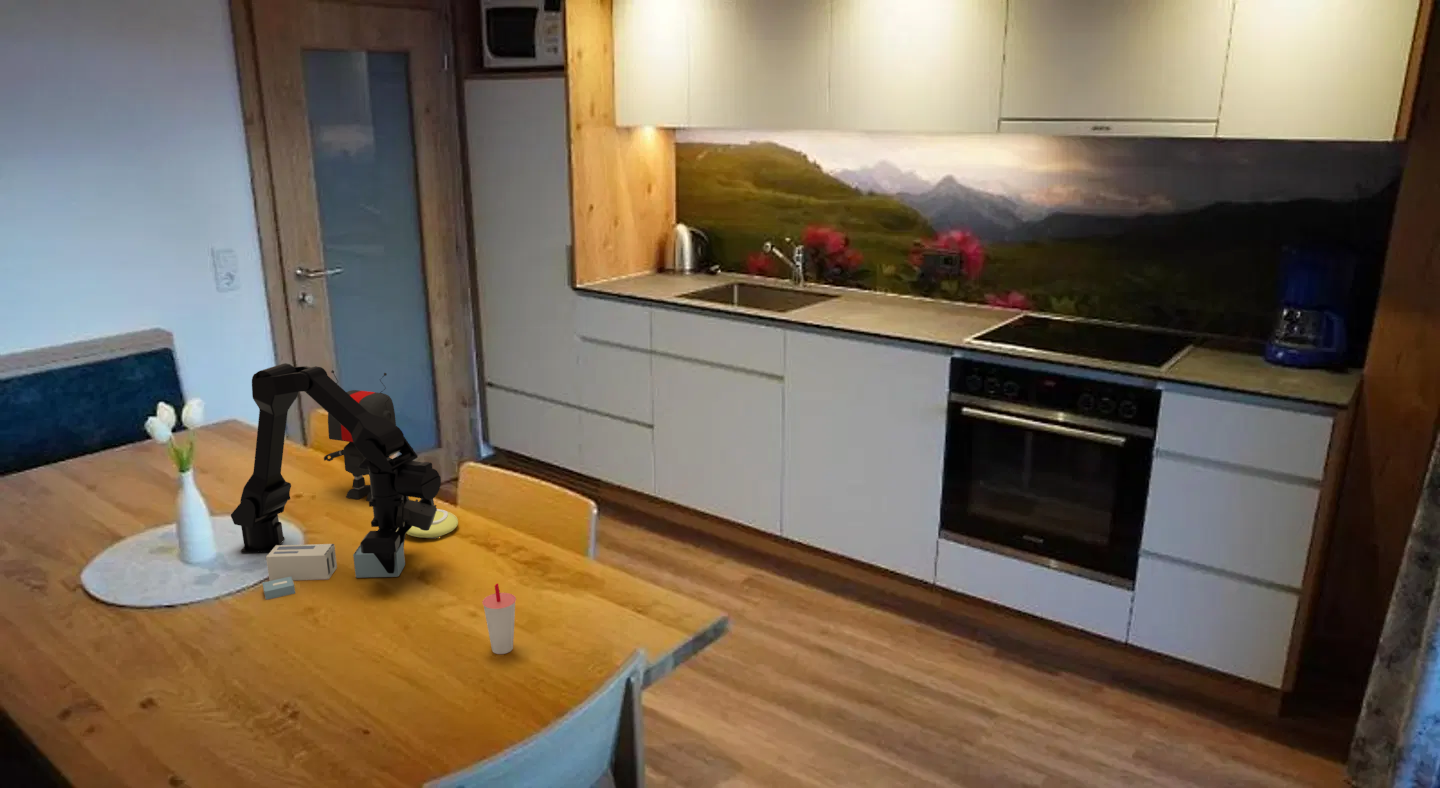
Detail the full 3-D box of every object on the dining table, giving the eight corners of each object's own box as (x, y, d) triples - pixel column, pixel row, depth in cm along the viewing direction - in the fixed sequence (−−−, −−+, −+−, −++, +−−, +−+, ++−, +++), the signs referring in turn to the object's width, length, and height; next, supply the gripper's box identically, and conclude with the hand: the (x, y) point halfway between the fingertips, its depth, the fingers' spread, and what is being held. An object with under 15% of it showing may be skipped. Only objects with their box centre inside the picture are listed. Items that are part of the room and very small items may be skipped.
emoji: (466, 506, 210) (412, 500, 211) (445, 529, 199) (389, 523, 200) (466, 522, 211) (412, 516, 212) (446, 547, 200) (389, 540, 201)
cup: (481, 656, 159) (476, 590, 155) (491, 639, 164) (486, 575, 160) (514, 658, 158) (509, 591, 155) (522, 640, 164) (518, 576, 160)
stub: (355, 577, 185) (353, 554, 183) (363, 565, 190) (361, 542, 188) (398, 576, 185) (396, 553, 184) (405, 564, 190) (402, 541, 189)
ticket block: (269, 580, 184) (265, 556, 182) (279, 568, 189) (275, 544, 187) (328, 579, 185) (325, 554, 183) (337, 567, 189) (334, 543, 188)
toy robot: (421, 494, 225) (410, 369, 216) (396, 509, 216) (383, 380, 208) (344, 483, 232) (330, 361, 223) (317, 497, 223) (301, 371, 215)
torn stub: (266, 601, 177) (264, 591, 176) (263, 592, 180) (262, 582, 180) (295, 594, 179) (294, 584, 179) (292, 586, 183) (291, 576, 182)
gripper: (419, 510, 174) (426, 588, 179) (441, 472, 192) (447, 544, 197) (355, 511, 174) (364, 590, 178) (384, 473, 192) (391, 546, 196)
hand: (394, 566), depth 187 cm, fingers closed on stub, 5 cm apart
